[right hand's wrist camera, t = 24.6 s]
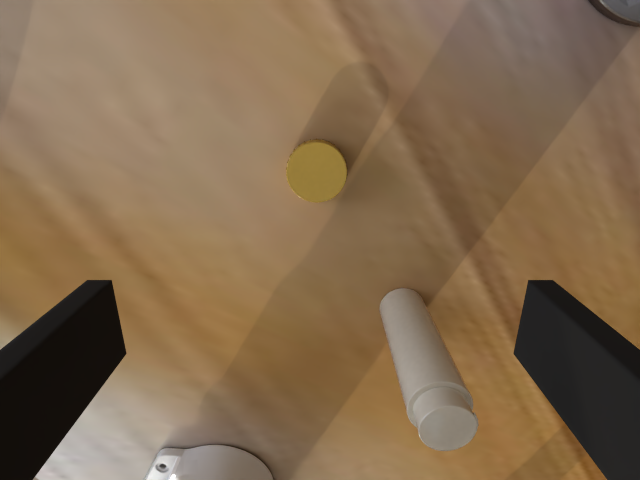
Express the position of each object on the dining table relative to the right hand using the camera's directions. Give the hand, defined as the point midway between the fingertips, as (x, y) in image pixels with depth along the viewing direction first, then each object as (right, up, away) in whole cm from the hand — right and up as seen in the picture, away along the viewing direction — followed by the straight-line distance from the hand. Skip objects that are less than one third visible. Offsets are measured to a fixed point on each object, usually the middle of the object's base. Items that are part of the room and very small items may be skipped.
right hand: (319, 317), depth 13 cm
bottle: (+9, -5, +31) cm, 33 cm away
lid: (0, +9, +24) cm, 26 cm away
